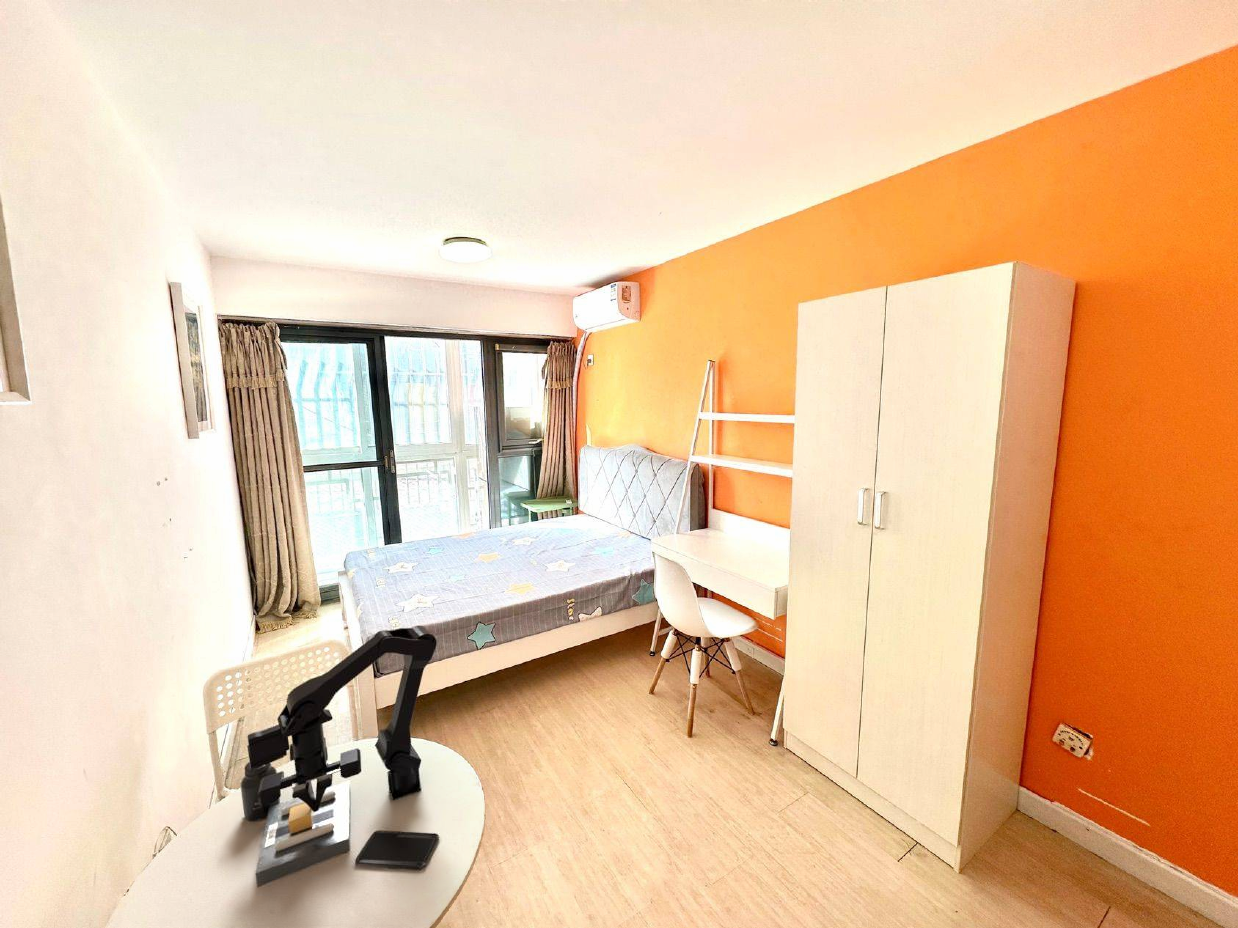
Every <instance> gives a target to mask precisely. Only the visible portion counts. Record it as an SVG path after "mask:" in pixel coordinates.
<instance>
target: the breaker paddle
mask: <svg viewBox="0 0 1238 928" xmlns="http://www.w3.org/2000/svg"><path fill="white" fill-rule="evenodd" d="M288 822H289V830H290V834H292V833H295V832H298V831H300V830H303V829H306V828H309V827H312V822H313V810H312V809H311V808H310V807H309V806H308V805H307V804H306V803H304V804H301V805H298V806H295V807H292V808H290V815H289V821H288Z"/></svg>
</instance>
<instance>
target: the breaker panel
mask: <svg viewBox="0 0 1238 928" xmlns="http://www.w3.org/2000/svg"><path fill="white" fill-rule="evenodd" d="M350 783H351V782H350V780H347V781H344V782H341V783H338V784H336V785H333V786H332V785H331V786H330V787H328V788H326V790H325V793H327V792H330V791H335V793H336V795H335V797H334V798H333V799H330V800H327V801H324V802H321V803H320V806H319V810H318V811H316V812H314V811H313V822H312V827H309V828H306V829H303V830H300V831H298V832H295V833H292V834H290V830H289V822H288V821H289V815H290V813H289V814H286V815H282V814H281V810H282V808H283V807H285V806H288V805H291V804H294V803H297V802H300V801H302V800H301V799H299V798H292V799H291V800H290V799H289V800H287V801H284V802H281V803H280V804H278V805H275V806H272V807H269V811H268V816H267V817H266V821H265V826H264V831H263V835H262V841H261V845H260V849H259V855H258V861H257V865H256V868H255V869H256V870H255V879H256V880H255V881H256V886H257V888H259V887H261V886H264V885H266V884H269V883H272V882H275V881H277V880H279V879H282V878H284V877H287V876H290V875H292V874H295V873H297V872H300V871H302V870H305V869H308V868H309V867H312V866H315V865H318V864H321V863H322V862H325V861H327V860H330V859H333V858H336V857H338V856H340V855H343V854H346V853H347V852H350V851H351V798H352V797H351V792H352V791H351V784H350ZM313 792H314V796H316V791H313ZM329 823H333V824H334V829H333V830H332V831H331V832H328V833H326V834H323V835H320V836H318V837H315V838H312V839H309V840H307V841H304V842H301V843H299V844H296V845H293V846H291V847H288V848H285V849H283V850H280V851H276V850H275V845H276V843H277V842H279V841H282V840H285V839H287V838H290V837H293V836H296V835H298V834H301V833H304V832H307V831H309V830H312V829H315V828H318V827H320V826H323V825H326V824H329Z"/></svg>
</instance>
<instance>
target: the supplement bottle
mask: <svg viewBox="0 0 1238 928" xmlns="http://www.w3.org/2000/svg"><path fill="white" fill-rule="evenodd" d="M275 773H278V771H277V769H276V768H275V767H274V766H272V762H271V763H269V764H266V765H264V766H261V767H259V768H256V769H254V770H251V768H250V762H247V763H246V765H244V777H243V778H242V779H241V782H240V790H241V791H240V794H241V801H242V809H243V815H244V816H243V817H244V819H245V820H247V821H249V822H258V821H261V820H263V819H267V816H268V811H269V807H272V806H275V805H278V804H281V803H280V801H281V797H280V798H279V799H278V800H277V801H276V802H273V803H270V804H267V805H264V806H259V804H258V791H259V787H260V783H261V780H262V779H263V778H264V777H265V776H269V775H272V774H275Z"/></svg>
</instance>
